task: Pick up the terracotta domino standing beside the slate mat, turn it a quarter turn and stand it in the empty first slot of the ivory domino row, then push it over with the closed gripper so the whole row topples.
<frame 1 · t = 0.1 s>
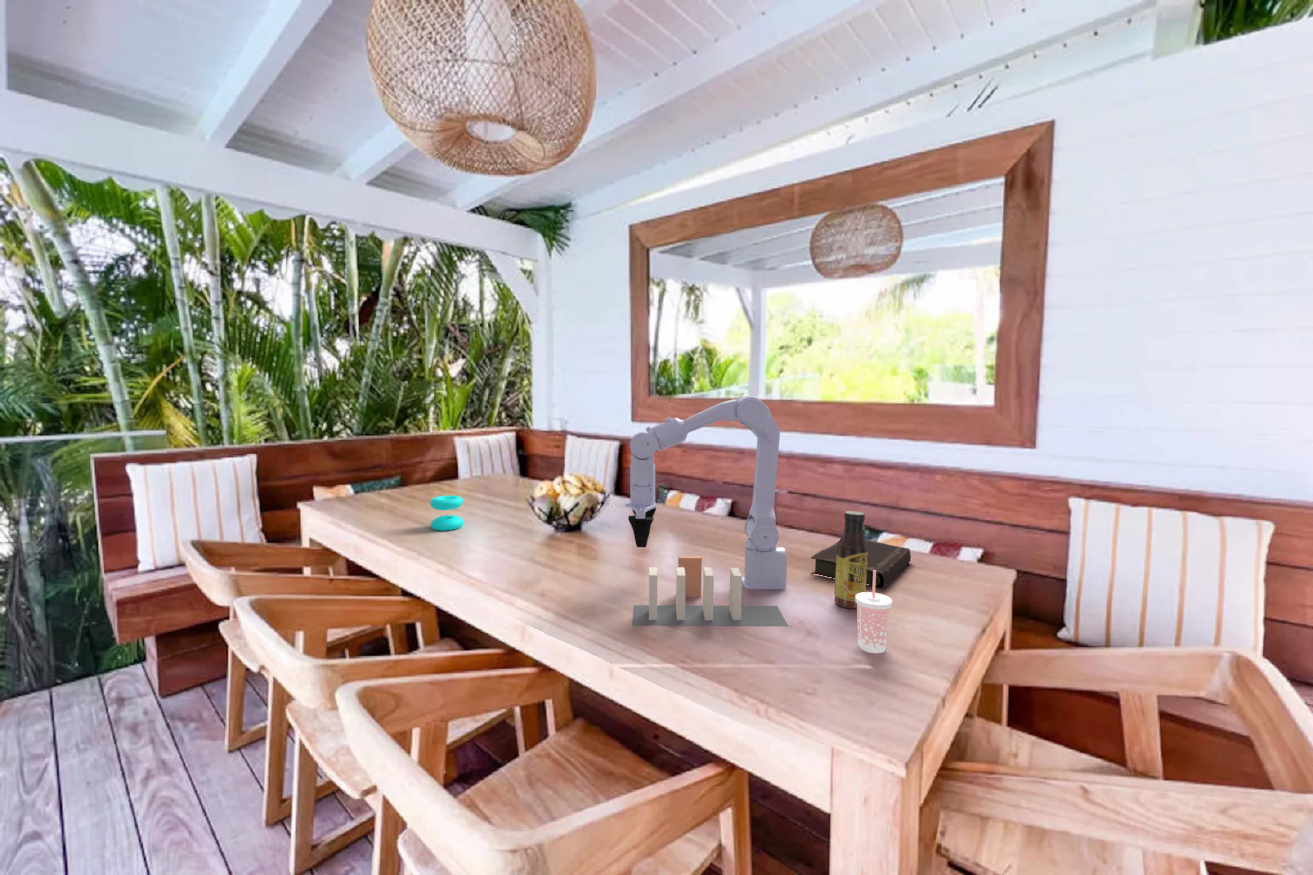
hand: (642, 542, 132), 10 cm above the table, tool pointing down, fingers open, 7 cm apart
beverage cup: (871, 648, 101), on the table
terracotta domino: (689, 596, 125), on the table
domino 4: (680, 615, 114), resting on slate mat
sauce bottle: (849, 605, 121), on the table
donuts: (447, 528, 184), on the table
domino 5: (653, 614, 114), resting on slate mat
domino 3: (707, 615, 114), resting on slate mat
domino 2: (735, 615, 114), resting on slate mat
diary: (860, 571, 145), on the table
slate mat: (707, 617, 114), on the table
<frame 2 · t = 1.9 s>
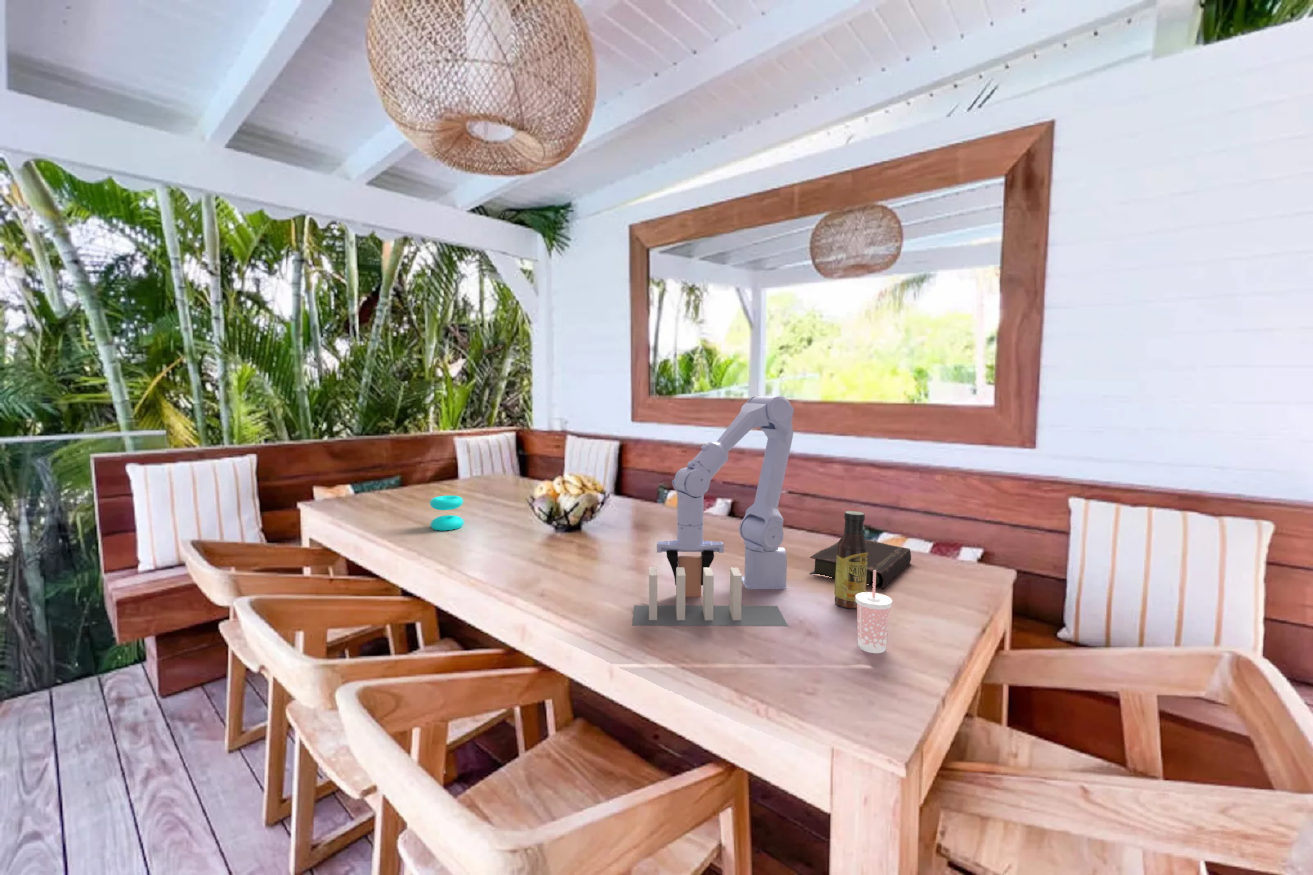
hand: (689, 583, 125), 3 cm above the table, tool pointing down, fingers closed on terracotta domino, 5 cm apart
terracotta domino: (689, 596, 125), on the table, touching gripper
everything else where it was.
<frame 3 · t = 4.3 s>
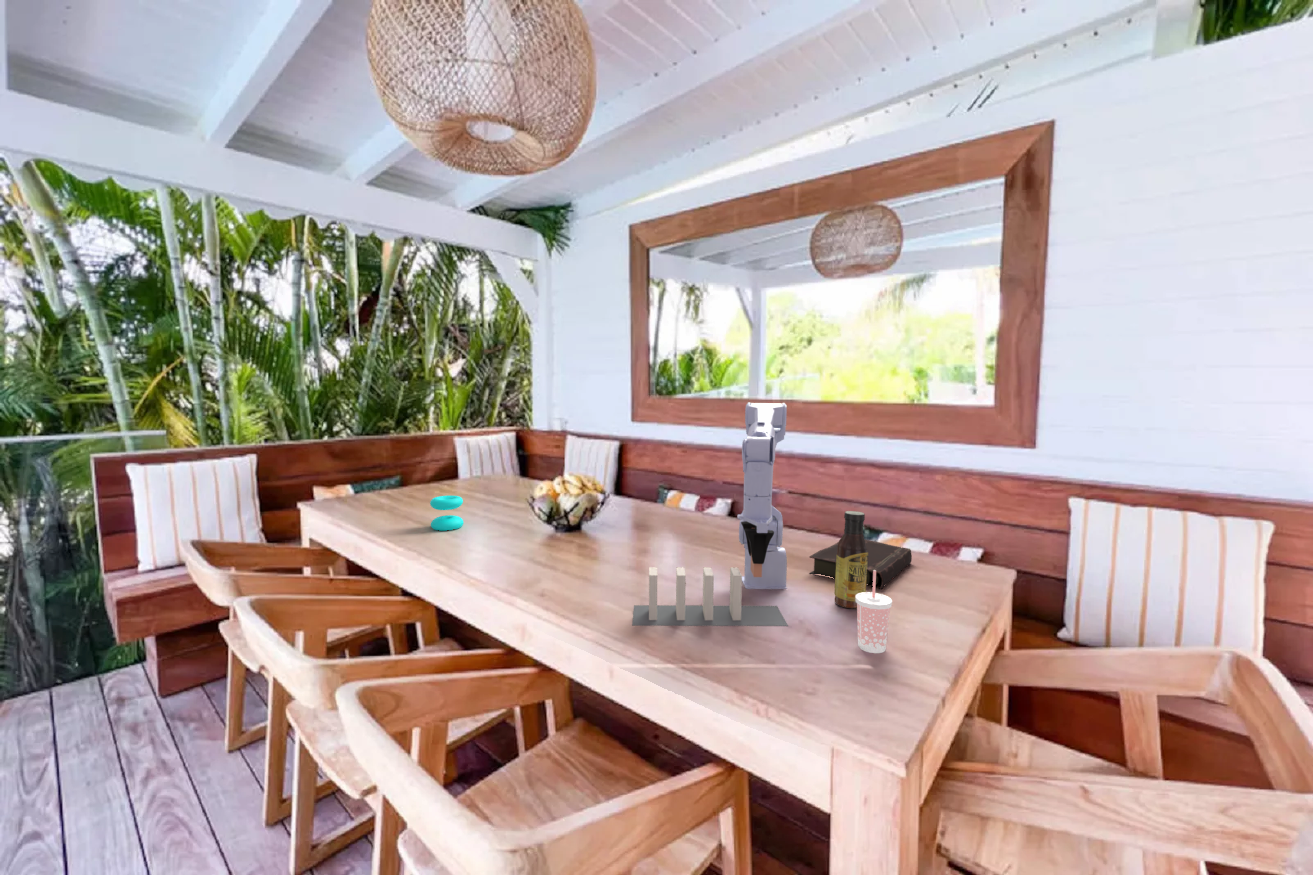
hand: (756, 559, 118), 10 cm above the table, tool pointing down, fingers closed on terracotta domino, 5 cm apart
terracotta domino: (756, 573, 118), point 7 cm above the table, touching gripper
everything else where it was.
when the fingers open (5 cm above the table, at t = 6.7 s): terracotta domino drops 1 cm, resting on slate mat.
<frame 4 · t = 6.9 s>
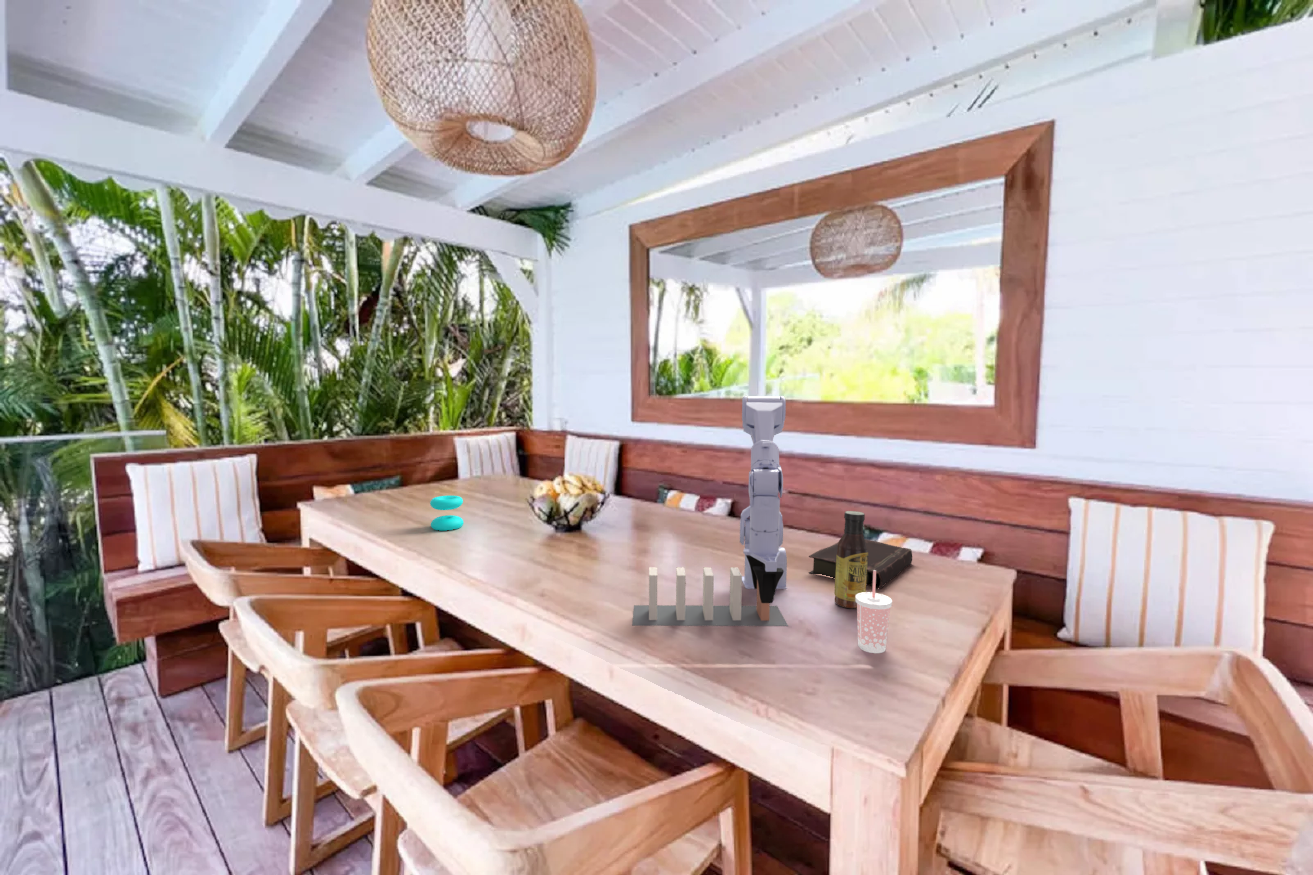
hand: (762, 595, 114), 5 cm above the table, tool pointing down, fingers open, 7 cm apart
terracotta domino: (762, 615, 114), resting on slate mat
everything else where it was.
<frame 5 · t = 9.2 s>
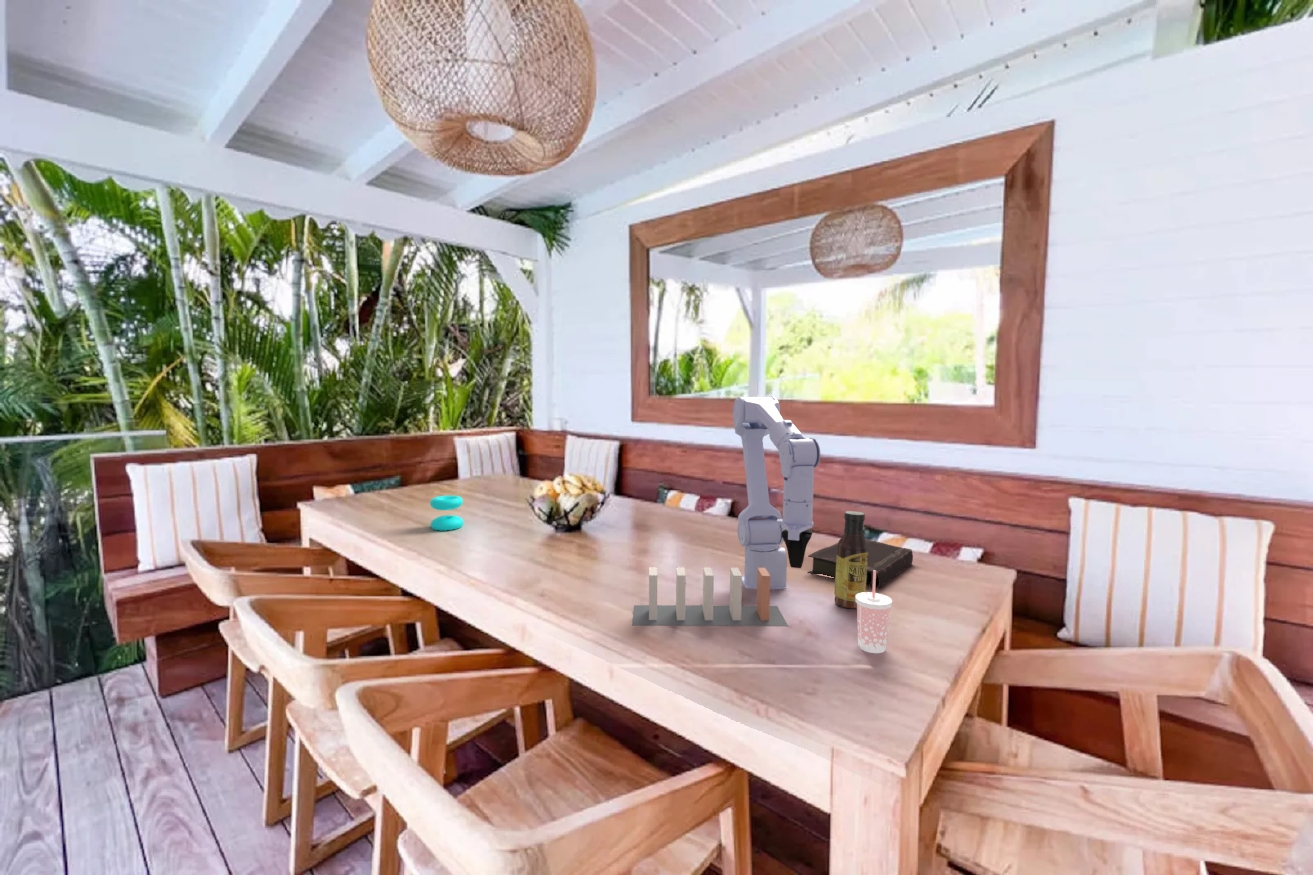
hand: (796, 566, 113), 10 cm above the table, tool pointing down, fingers closed
nothing on the table moved.
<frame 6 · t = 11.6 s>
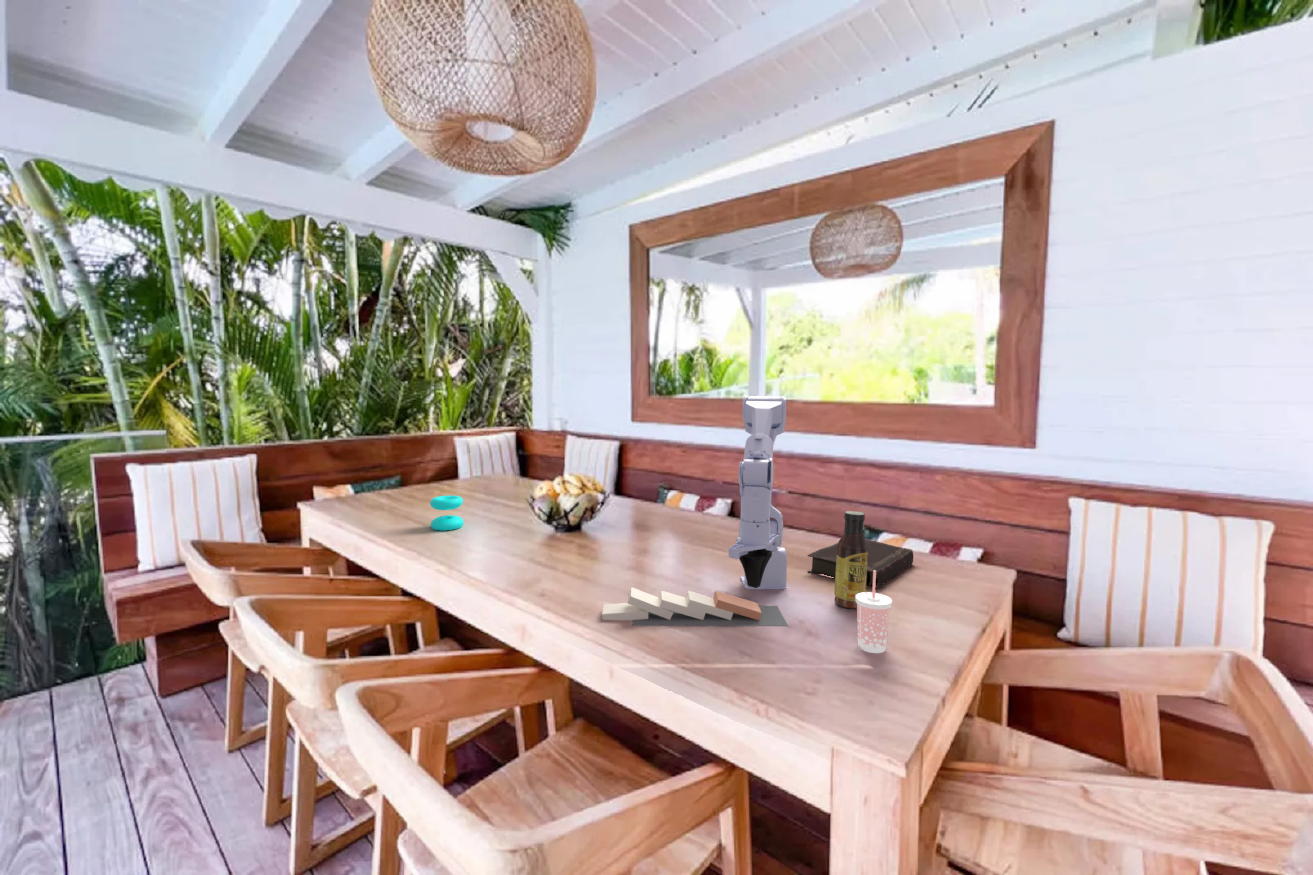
hand: (753, 586, 113), 6 cm above the table, tool pointing down, fingers closed
terracotta domino: (758, 611, 114), point 1 cm above the table, tilted 73°, touching domino 2, slate mat
domino 4: (671, 611, 114), point 1 cm above the table, tilted 68°, touching domino 3, domino 5
domino 5: (648, 610, 114), point 1 cm above the table, tilted 94°, touching domino 4, slate mat
domino 3: (703, 611, 114), point 1 cm above the table, tilted 73°, touching domino 2, domino 4, slate mat
domino 2: (730, 611, 114), point 1 cm above the table, tilted 73°, touching domino 3, slate mat, terracotta domino
everything else where it was.
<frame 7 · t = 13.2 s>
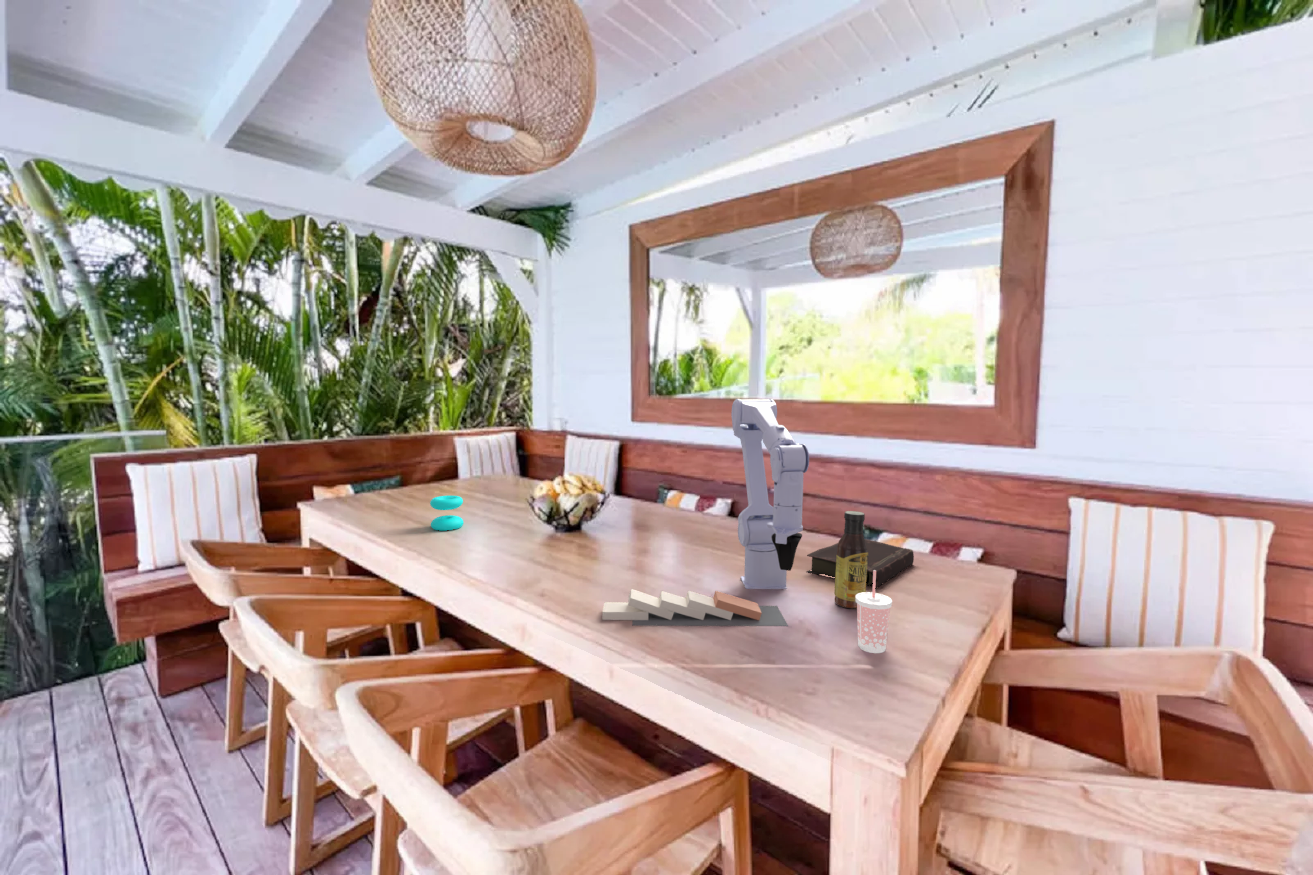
hand: (785, 569, 116), 9 cm above the table, tool pointing down, fingers closed
domino 4: (671, 611, 114), point 1 cm above the table, tilted 70°, touching domino 3, domino 5, slate mat
domino 5: (648, 611, 114), point 1 cm above the table, tilted 90°, touching domino 4, slate mat
everything else where it was.
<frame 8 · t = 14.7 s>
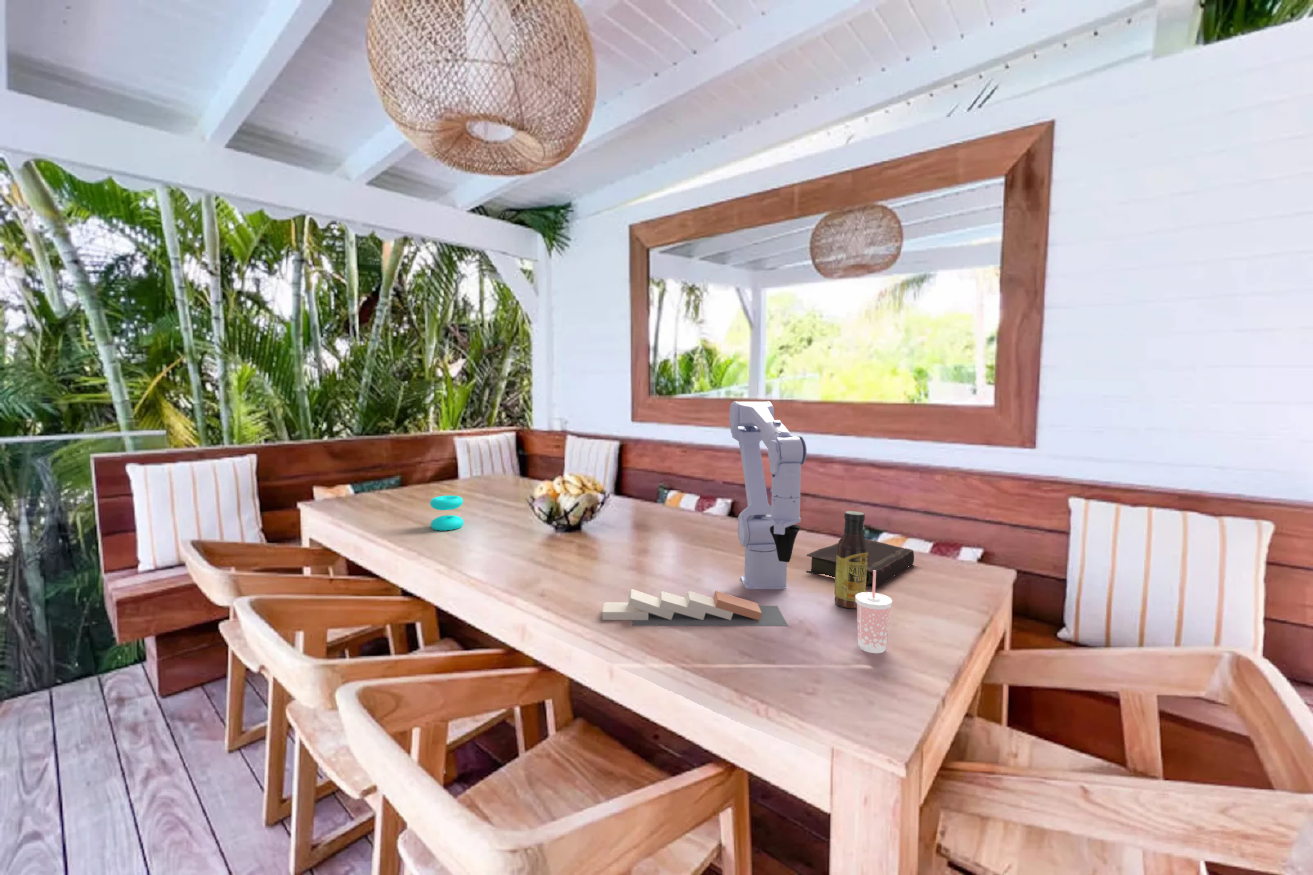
hand: (784, 560, 117), 10 cm above the table, tool pointing down, fingers closed
nothing on the table moved.
at the end: terracotta domino 0.1 cm from the target spot, point 1.2 cm above the table; domino 3 tilted 74°; domino 5 tilted 90° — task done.
